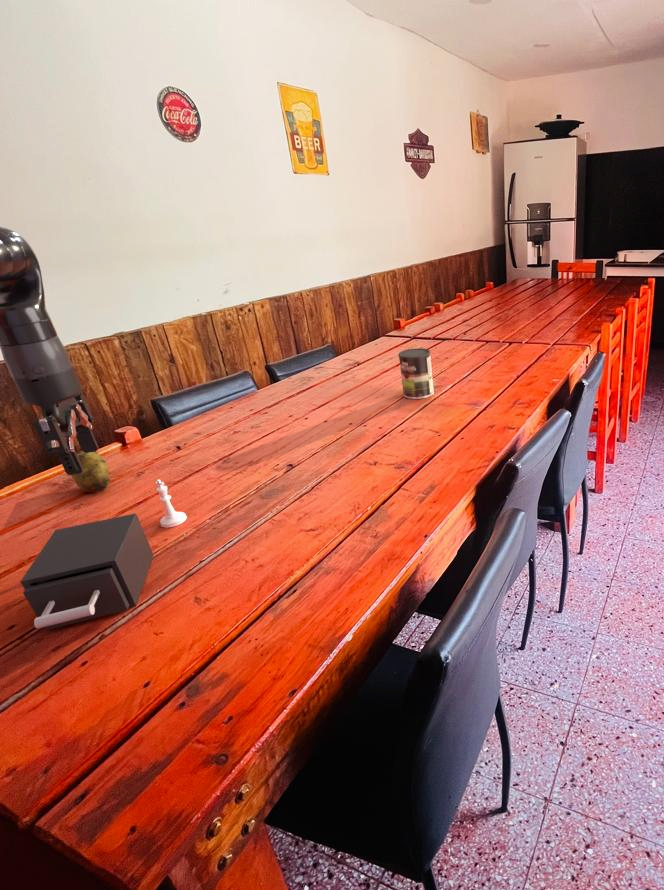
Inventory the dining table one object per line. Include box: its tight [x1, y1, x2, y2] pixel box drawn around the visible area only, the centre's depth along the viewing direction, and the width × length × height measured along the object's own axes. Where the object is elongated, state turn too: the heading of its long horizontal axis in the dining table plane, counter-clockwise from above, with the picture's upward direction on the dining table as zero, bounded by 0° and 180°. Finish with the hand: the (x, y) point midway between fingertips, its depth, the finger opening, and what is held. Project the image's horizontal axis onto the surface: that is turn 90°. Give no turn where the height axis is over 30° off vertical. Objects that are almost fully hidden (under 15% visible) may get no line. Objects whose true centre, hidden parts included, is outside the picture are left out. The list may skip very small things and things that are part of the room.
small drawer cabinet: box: [20, 513, 154, 609], centre depth 87 cm, size 15×13×10 cm
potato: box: [71, 450, 111, 493], centre depth 122 cm, size 8×13×8 cm, turn 28°
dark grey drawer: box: [22, 565, 129, 631], centre depth 83 cm, size 19×11×8 cm, turn 20°
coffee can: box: [397, 347, 435, 400], centre depth 167 cm, size 10×10×14 cm
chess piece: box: [154, 478, 188, 529], centre depth 106 cm, size 5×5×10 cm
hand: (84, 461), depth 85 cm, fingers open, 8 cm apart
